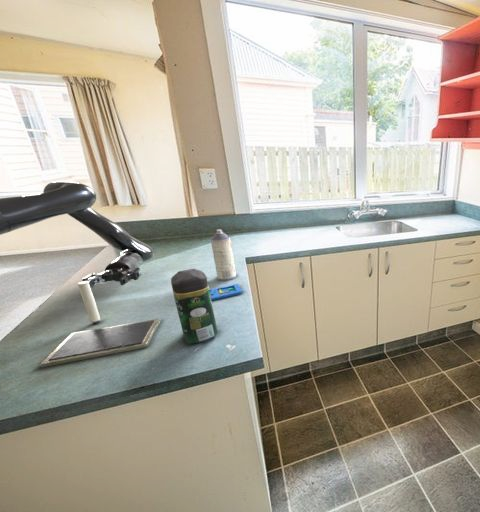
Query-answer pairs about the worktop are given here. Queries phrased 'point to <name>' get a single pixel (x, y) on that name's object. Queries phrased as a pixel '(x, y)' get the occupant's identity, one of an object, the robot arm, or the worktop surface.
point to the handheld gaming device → (225, 291)
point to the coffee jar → (194, 305)
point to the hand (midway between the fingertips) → (104, 284)
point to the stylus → (89, 302)
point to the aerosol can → (223, 256)
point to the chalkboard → (103, 342)
